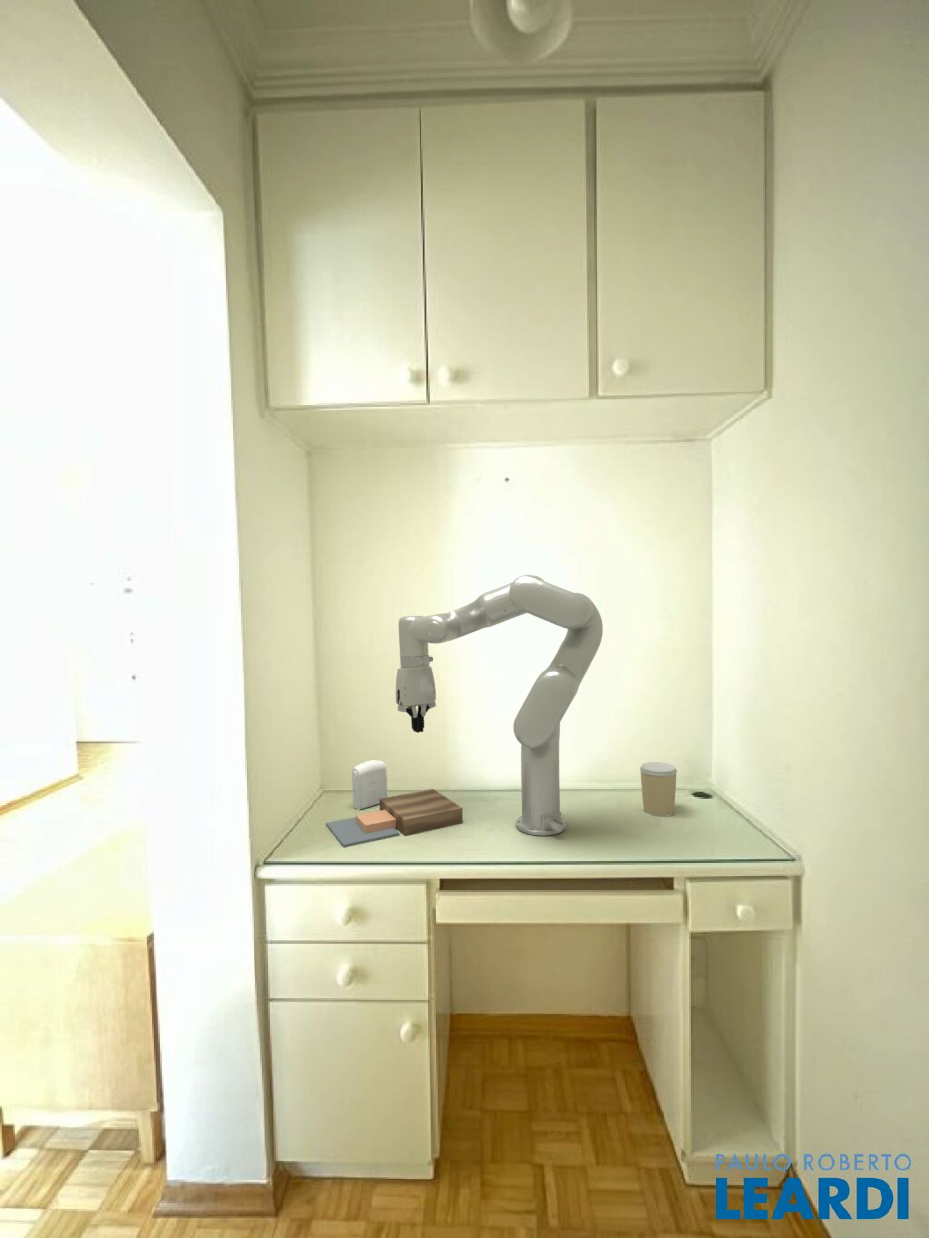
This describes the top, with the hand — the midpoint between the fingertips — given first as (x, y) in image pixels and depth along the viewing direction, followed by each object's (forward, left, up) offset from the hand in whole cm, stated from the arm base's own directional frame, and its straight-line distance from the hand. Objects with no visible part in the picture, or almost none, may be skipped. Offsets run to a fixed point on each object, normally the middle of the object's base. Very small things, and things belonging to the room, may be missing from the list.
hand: (418, 731), depth 160 cm
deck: (-1, +1, -23) cm, 23 cm away
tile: (-2, +13, -22) cm, 26 cm away
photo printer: (+16, +9, -23) cm, 29 cm away
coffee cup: (-29, -56, -23) cm, 68 cm away
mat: (-1, +17, -23) cm, 28 cm away
